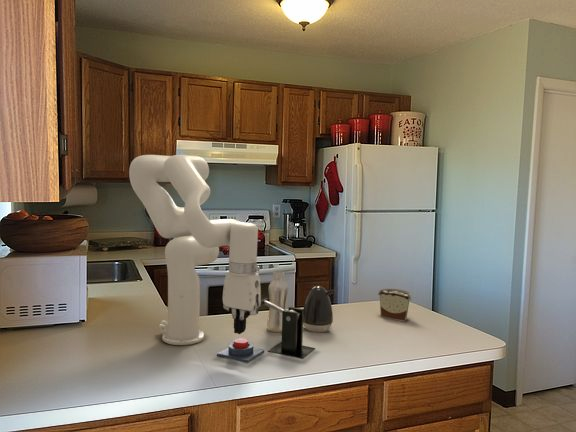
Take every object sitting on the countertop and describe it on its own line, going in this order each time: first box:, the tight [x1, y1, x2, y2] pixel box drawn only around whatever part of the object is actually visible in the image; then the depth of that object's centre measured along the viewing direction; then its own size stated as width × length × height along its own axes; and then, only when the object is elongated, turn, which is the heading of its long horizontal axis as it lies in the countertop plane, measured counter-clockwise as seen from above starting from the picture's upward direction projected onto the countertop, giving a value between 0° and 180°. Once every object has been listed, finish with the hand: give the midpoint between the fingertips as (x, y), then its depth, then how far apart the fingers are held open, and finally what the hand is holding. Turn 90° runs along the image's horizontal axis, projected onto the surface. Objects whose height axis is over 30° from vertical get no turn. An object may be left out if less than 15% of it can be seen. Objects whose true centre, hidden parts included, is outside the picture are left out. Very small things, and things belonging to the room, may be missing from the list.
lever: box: [260, 297, 300, 318], centre depth 139 cm, size 12×6×2 cm, turn 64°
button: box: [233, 337, 249, 348], centre depth 133 cm, size 4×4×2 cm
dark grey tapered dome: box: [303, 285, 336, 333], centre depth 157 cm, size 10×10×15 cm
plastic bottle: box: [266, 270, 289, 333], centre depth 155 cm, size 6×7×20 cm
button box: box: [216, 341, 265, 364], centre depth 133 cm, size 10×9×4 cm
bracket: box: [267, 306, 316, 360], centre depth 137 cm, size 11×9×13 cm
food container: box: [377, 288, 412, 323], centre depth 176 cm, size 12×6×10 cm, turn 58°
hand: (239, 332), depth 133 cm, fingers closed
